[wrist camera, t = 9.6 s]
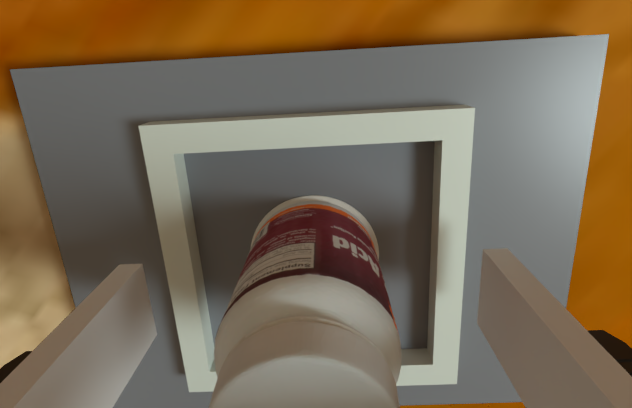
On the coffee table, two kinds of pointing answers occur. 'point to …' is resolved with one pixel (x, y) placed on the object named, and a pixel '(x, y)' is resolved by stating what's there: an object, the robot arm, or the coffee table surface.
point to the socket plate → (320, 185)
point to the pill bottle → (309, 318)
